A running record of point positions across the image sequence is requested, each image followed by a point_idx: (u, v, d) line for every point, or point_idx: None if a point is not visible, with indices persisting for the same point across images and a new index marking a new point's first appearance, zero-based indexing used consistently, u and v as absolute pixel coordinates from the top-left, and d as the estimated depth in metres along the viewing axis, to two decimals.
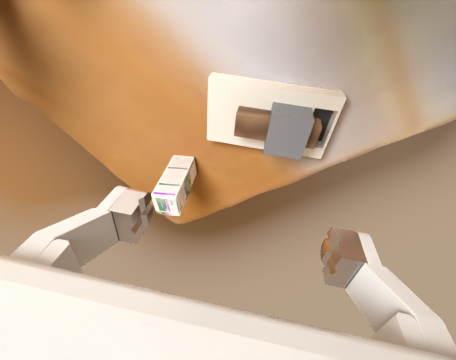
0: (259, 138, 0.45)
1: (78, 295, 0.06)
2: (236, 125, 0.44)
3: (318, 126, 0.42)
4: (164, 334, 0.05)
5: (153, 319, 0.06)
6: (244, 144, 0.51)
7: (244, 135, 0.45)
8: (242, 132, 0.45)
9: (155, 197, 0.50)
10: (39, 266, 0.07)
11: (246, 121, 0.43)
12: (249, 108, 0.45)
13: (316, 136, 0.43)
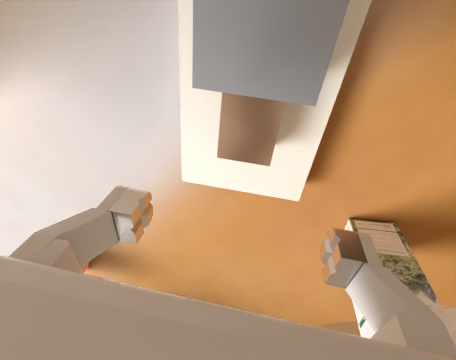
0: (277, 108, 0.17)
1: (78, 295, 0.06)
2: (243, 158, 0.20)
3: None
4: (164, 334, 0.05)
5: (153, 319, 0.06)
6: (318, 132, 0.22)
7: (268, 144, 0.19)
8: (260, 148, 0.19)
9: None
10: (39, 266, 0.07)
11: (232, 138, 0.19)
12: None
13: None
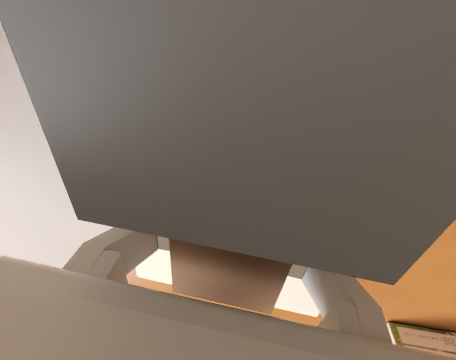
0: None
1: (78, 295, 0.06)
2: (220, 299, 0.11)
3: None
4: (164, 334, 0.05)
5: (153, 319, 0.06)
6: None
7: (269, 287, 0.10)
8: (253, 290, 0.10)
9: None
10: (39, 266, 0.07)
11: (197, 272, 0.10)
12: None
13: None
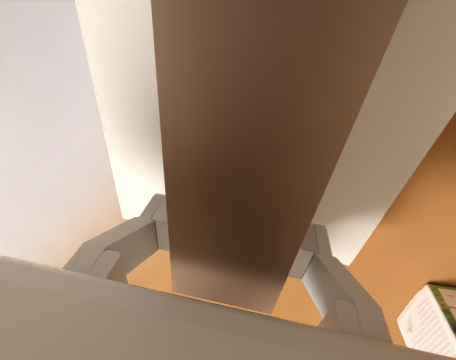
0: (289, 240, 0.08)
1: (78, 295, 0.06)
2: (220, 299, 0.11)
3: None
4: (164, 334, 0.05)
5: (153, 319, 0.06)
6: (431, 127, 0.08)
7: (269, 287, 0.10)
8: (253, 290, 0.10)
9: None
10: (39, 266, 0.07)
11: (196, 272, 0.10)
12: None
13: None
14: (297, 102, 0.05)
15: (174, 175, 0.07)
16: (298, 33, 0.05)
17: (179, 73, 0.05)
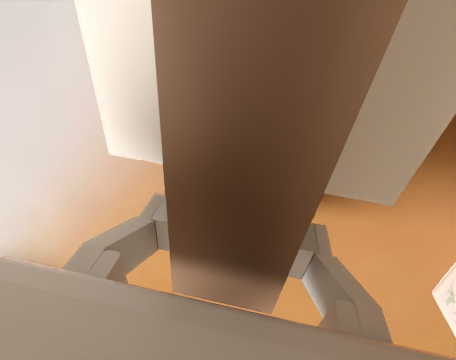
0: (289, 240, 0.08)
1: (78, 295, 0.06)
2: (220, 299, 0.11)
3: None
4: (164, 334, 0.05)
5: (153, 319, 0.06)
6: None
7: (269, 287, 0.10)
8: (253, 290, 0.10)
9: None
10: (39, 266, 0.07)
11: (196, 272, 0.10)
12: None
13: None
14: (297, 102, 0.05)
15: (174, 175, 0.07)
16: (298, 33, 0.05)
17: (179, 74, 0.05)
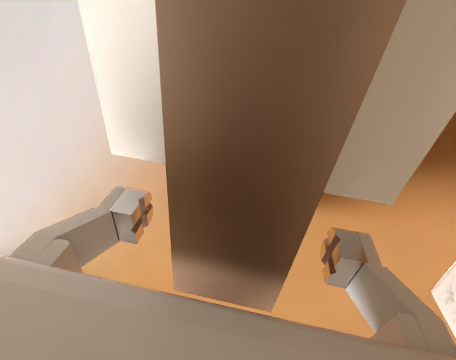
0: (289, 238, 0.08)
1: (78, 295, 0.06)
2: (221, 297, 0.11)
3: None
4: (164, 334, 0.05)
5: (153, 319, 0.06)
6: None
7: (269, 285, 0.10)
8: (253, 288, 0.10)
9: None
10: (39, 266, 0.07)
11: (198, 270, 0.10)
12: None
13: None
14: (297, 103, 0.05)
15: (177, 174, 0.07)
16: (299, 36, 0.05)
17: (182, 75, 0.06)
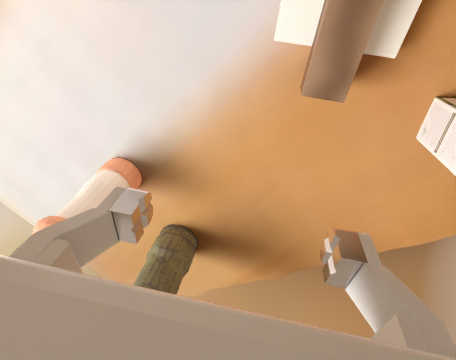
0: (359, 51, 0.23)
1: (78, 295, 0.06)
2: (323, 96, 0.26)
3: None
4: (164, 334, 0.05)
5: (153, 319, 0.06)
6: None
7: (346, 82, 0.25)
8: (339, 86, 0.25)
9: None
10: (39, 266, 0.07)
11: (317, 78, 0.25)
12: (305, 70, 0.28)
13: None
14: None
15: (325, 24, 0.23)
16: None
17: None
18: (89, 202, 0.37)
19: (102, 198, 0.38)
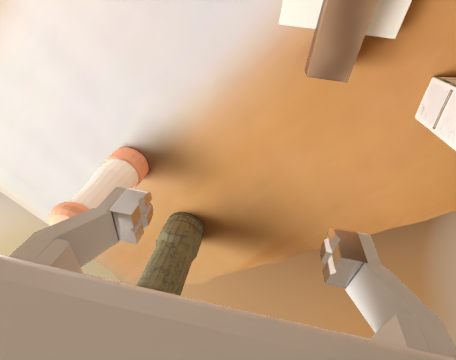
0: (362, 31, 0.25)
1: (78, 295, 0.06)
2: (327, 76, 0.27)
3: None
4: (164, 334, 0.05)
5: (153, 319, 0.06)
6: None
7: (350, 62, 0.26)
8: (343, 66, 0.27)
9: None
10: (39, 266, 0.07)
11: (322, 59, 0.26)
12: (309, 52, 0.29)
13: None
14: None
15: (330, 6, 0.24)
16: None
17: None
18: (101, 188, 0.38)
19: (113, 185, 0.39)
